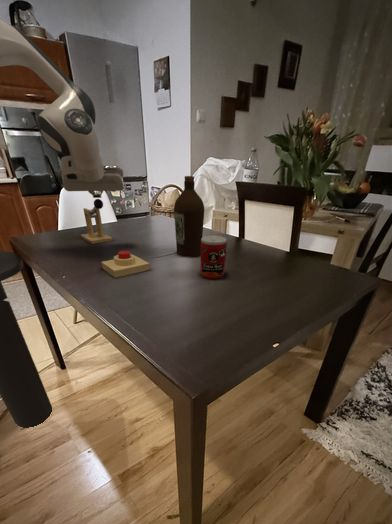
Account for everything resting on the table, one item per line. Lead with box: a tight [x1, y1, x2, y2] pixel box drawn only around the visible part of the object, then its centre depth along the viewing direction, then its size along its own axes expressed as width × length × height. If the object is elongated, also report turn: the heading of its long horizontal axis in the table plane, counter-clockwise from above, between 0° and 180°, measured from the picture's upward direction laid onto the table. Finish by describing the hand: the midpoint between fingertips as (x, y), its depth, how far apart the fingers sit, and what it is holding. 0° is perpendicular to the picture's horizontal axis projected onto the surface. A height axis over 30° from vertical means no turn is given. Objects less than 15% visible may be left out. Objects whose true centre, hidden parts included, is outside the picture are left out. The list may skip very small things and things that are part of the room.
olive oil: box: [173, 175, 205, 258], centre depth 100 cm, size 11×11×25 cm
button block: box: [101, 253, 151, 279], centre depth 91 cm, size 12×10×4 cm
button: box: [117, 250, 131, 259], centre depth 89 cm, size 4×4×2 cm
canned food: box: [199, 235, 228, 280], centre depth 86 cm, size 8×8×11 cm
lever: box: [89, 198, 104, 219], centre depth 110 cm, size 13×3×3 cm, turn 38°
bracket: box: [80, 207, 113, 245], centre depth 117 cm, size 12×9×12 cm
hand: (97, 196), depth 105 cm, fingers closed
